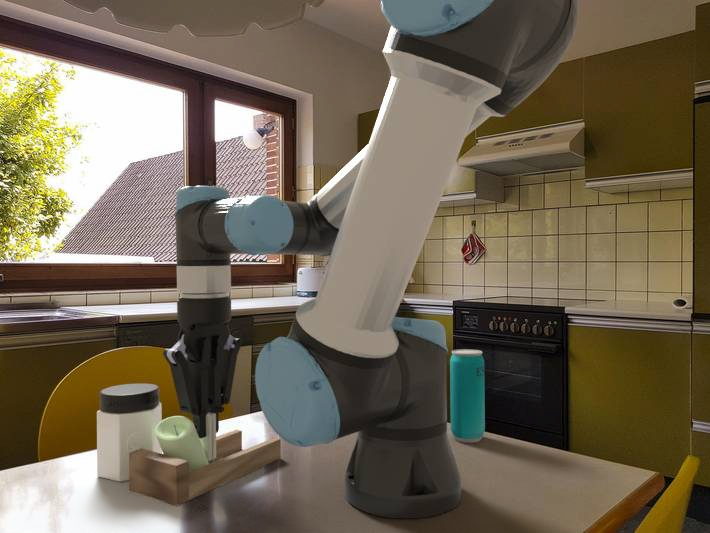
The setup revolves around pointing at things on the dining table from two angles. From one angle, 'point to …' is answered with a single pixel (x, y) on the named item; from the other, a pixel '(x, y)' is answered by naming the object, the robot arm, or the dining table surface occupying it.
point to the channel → (179, 485)
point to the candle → (181, 441)
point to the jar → (126, 427)
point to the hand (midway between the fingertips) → (206, 457)
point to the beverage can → (467, 395)
